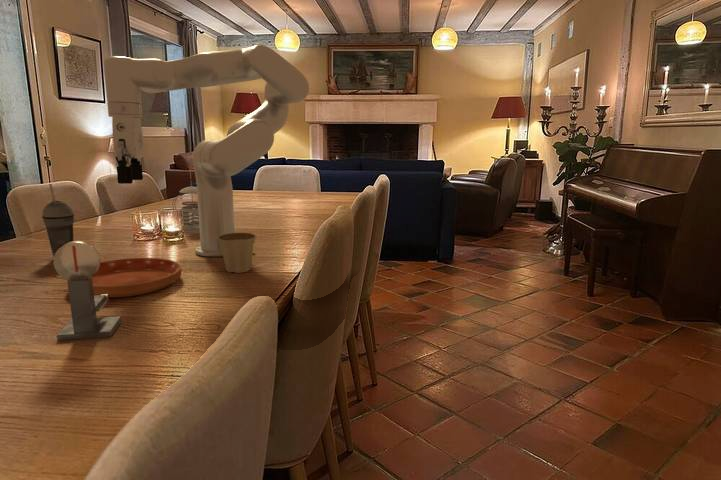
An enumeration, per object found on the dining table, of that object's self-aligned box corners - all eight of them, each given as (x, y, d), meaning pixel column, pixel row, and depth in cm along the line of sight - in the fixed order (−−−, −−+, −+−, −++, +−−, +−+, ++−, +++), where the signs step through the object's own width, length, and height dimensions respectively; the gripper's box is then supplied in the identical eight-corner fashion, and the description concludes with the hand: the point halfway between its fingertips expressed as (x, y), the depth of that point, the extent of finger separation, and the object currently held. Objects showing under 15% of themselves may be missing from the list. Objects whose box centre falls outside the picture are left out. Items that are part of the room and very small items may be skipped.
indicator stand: (123, 318, 87) (114, 232, 84) (110, 336, 79) (100, 242, 76) (75, 321, 85) (63, 233, 82) (57, 340, 78) (44, 244, 74)
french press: (203, 233, 161) (198, 158, 156) (169, 232, 162) (163, 158, 156) (212, 227, 171) (208, 157, 166) (180, 227, 171) (175, 157, 166)
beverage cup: (64, 262, 123) (54, 185, 119) (41, 261, 125) (30, 185, 120) (85, 255, 130) (77, 183, 126) (63, 254, 132) (53, 182, 127)
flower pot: (238, 277, 112) (236, 242, 110) (210, 271, 117) (208, 237, 115) (265, 268, 120) (264, 235, 118) (239, 263, 125) (237, 230, 123)
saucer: (147, 265, 122) (146, 252, 122) (202, 282, 109) (201, 267, 109) (50, 288, 104) (47, 272, 103) (102, 311, 91) (99, 293, 90)
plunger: (108, 300, 90) (108, 294, 90) (99, 311, 85) (98, 304, 84) (101, 300, 90) (101, 294, 90) (91, 311, 84) (91, 305, 84)
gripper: (132, 109, 108) (138, 185, 111) (150, 113, 124) (154, 178, 128) (96, 108, 106) (103, 185, 110) (119, 112, 123) (124, 178, 127)
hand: (131, 181), depth 119 cm, fingers open, 9 cm apart
